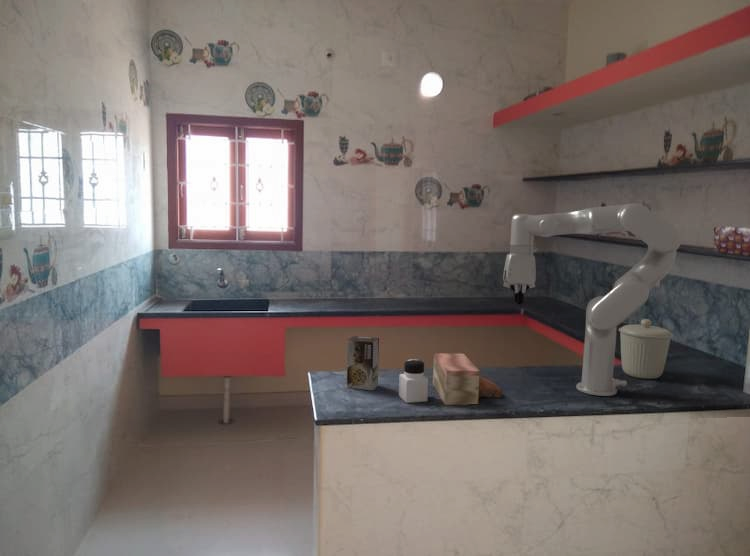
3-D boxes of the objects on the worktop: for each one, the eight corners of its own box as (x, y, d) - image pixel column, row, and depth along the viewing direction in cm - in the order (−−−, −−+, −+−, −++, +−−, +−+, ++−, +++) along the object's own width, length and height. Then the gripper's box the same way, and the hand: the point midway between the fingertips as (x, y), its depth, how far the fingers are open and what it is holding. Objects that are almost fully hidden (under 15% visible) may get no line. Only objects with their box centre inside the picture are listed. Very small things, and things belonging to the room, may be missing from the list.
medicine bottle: (428, 401, 174) (429, 363, 173) (405, 403, 172) (407, 364, 171) (419, 394, 181) (421, 357, 180) (398, 395, 179) (399, 358, 178)
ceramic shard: (442, 372, 189) (481, 375, 195) (439, 391, 189) (479, 394, 194) (464, 378, 176) (505, 382, 181) (462, 400, 175) (503, 402, 181)
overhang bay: (461, 383, 194) (463, 353, 192) (477, 404, 173) (479, 371, 172) (432, 383, 193) (434, 353, 192) (445, 404, 172) (446, 370, 171)
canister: (635, 383, 201) (640, 324, 198) (605, 369, 218) (609, 314, 216) (680, 381, 205) (686, 323, 202) (646, 367, 222) (651, 314, 220)
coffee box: (378, 385, 189) (380, 337, 187) (372, 391, 183) (374, 341, 181) (352, 382, 192) (353, 335, 190) (345, 387, 186) (347, 339, 184)
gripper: (538, 250, 198) (535, 302, 200) (496, 249, 197) (493, 302, 199) (546, 252, 190) (543, 306, 192) (503, 251, 189) (499, 305, 191)
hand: (518, 304), depth 196 cm, fingers closed
